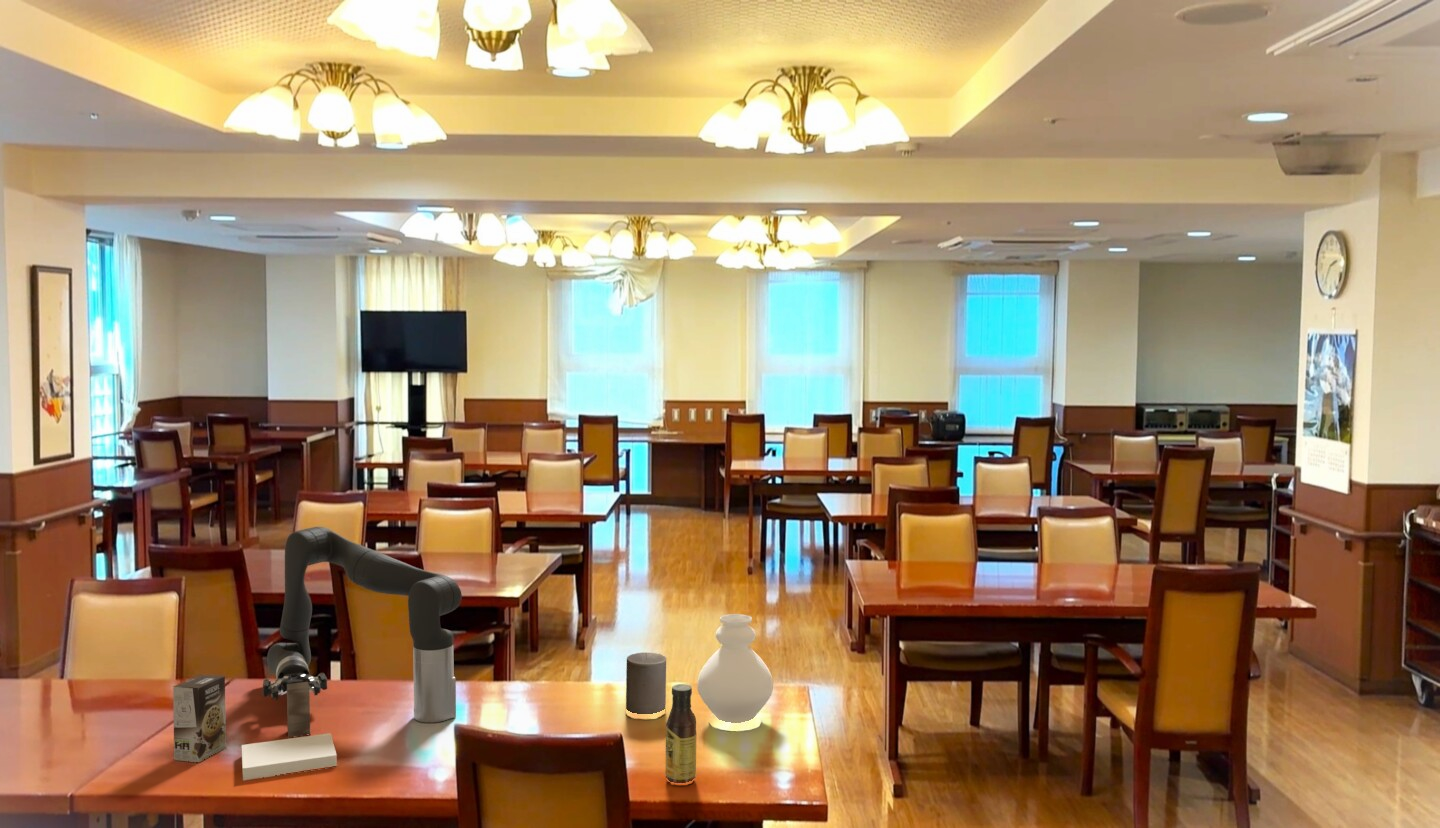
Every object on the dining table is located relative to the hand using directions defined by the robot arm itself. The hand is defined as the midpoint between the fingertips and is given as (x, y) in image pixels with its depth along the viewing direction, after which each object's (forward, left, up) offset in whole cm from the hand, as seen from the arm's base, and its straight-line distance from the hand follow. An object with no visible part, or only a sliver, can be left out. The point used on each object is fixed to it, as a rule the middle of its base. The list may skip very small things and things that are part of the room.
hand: (296, 693), depth 252 cm
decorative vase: (-94, +40, -7) cm, 102 cm away
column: (0, +7, -7) cm, 10 cm away
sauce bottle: (-69, +67, -7) cm, 97 cm away
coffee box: (+20, +12, -7) cm, 25 cm away
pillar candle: (-77, +26, -7) cm, 82 cm away
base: (+3, +24, -7) cm, 25 cm away
